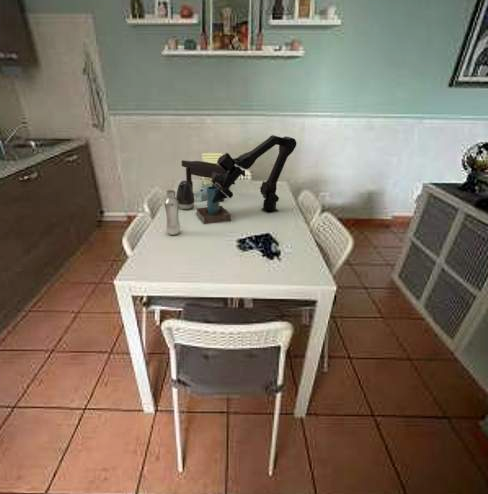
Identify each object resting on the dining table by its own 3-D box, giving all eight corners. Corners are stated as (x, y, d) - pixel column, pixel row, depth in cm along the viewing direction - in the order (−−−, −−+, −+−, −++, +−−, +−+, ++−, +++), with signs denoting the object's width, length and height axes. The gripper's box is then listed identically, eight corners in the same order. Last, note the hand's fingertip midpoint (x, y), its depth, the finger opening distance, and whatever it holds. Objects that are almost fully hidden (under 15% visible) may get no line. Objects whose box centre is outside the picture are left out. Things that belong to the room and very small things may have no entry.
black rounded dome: (172, 209, 178) (170, 182, 171) (182, 203, 187) (180, 177, 179) (189, 212, 175) (188, 184, 168) (198, 206, 183) (197, 179, 176)
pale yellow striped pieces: (229, 190, 210) (230, 162, 201) (205, 191, 208) (204, 163, 199) (224, 178, 236) (224, 153, 227) (202, 178, 234) (201, 153, 225)
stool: (220, 169, 172) (172, 161, 188) (220, 207, 182) (174, 196, 198) (235, 164, 184) (189, 156, 199) (234, 199, 194) (190, 190, 209)
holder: (221, 211, 177) (221, 205, 176) (231, 220, 165) (231, 214, 164) (196, 214, 173) (195, 208, 171) (203, 224, 161) (203, 218, 159)
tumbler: (215, 209, 171) (215, 185, 165) (221, 213, 167) (221, 188, 161) (205, 211, 169) (204, 187, 162) (211, 215, 164) (210, 190, 158)
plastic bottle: (183, 231, 153) (181, 190, 143) (176, 237, 147) (173, 194, 137) (171, 229, 154) (167, 188, 145) (164, 235, 149) (160, 192, 139)
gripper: (214, 162, 165) (194, 185, 167) (227, 170, 150) (204, 196, 152) (228, 176, 172) (209, 198, 173) (242, 186, 156) (220, 210, 158)
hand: (210, 200), depth 164 cm, fingers closed on tumbler, 6 cm apart
